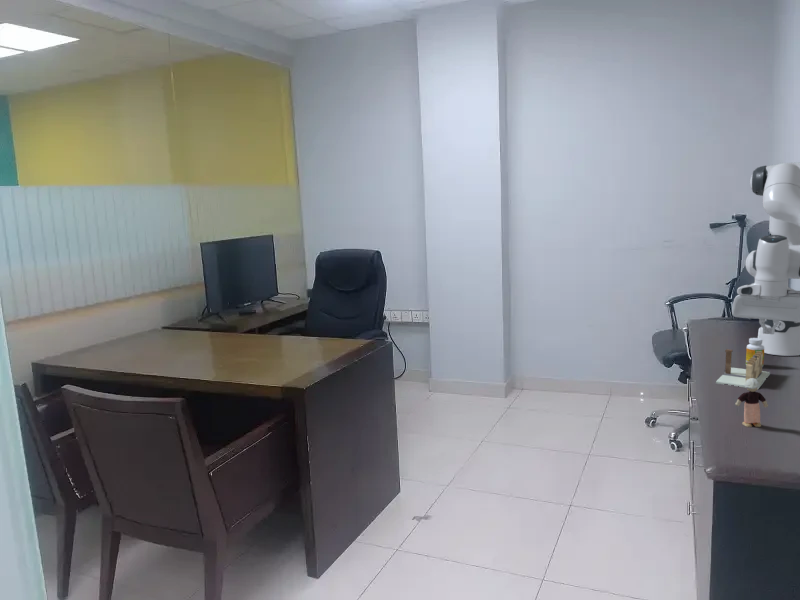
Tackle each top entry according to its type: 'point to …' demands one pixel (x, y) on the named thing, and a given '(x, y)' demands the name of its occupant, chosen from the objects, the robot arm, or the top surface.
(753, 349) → the supplement bottle
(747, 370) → the notched wooden plank
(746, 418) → the grandmother figurine
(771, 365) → the top surface
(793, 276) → the robot arm
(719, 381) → the card
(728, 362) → the corner post
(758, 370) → the fence fixed
